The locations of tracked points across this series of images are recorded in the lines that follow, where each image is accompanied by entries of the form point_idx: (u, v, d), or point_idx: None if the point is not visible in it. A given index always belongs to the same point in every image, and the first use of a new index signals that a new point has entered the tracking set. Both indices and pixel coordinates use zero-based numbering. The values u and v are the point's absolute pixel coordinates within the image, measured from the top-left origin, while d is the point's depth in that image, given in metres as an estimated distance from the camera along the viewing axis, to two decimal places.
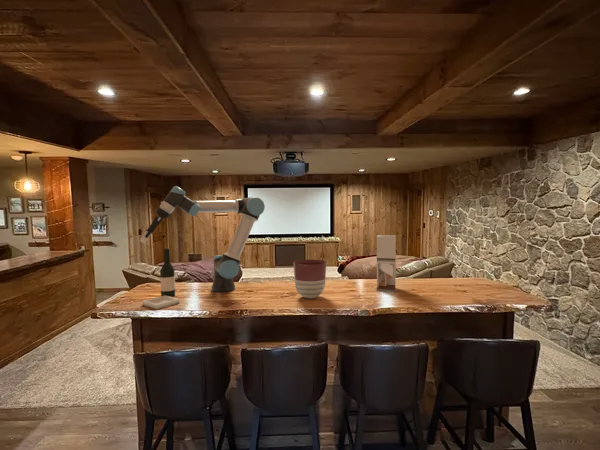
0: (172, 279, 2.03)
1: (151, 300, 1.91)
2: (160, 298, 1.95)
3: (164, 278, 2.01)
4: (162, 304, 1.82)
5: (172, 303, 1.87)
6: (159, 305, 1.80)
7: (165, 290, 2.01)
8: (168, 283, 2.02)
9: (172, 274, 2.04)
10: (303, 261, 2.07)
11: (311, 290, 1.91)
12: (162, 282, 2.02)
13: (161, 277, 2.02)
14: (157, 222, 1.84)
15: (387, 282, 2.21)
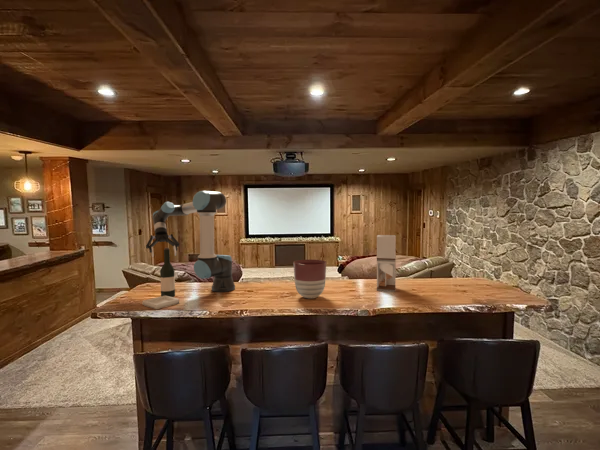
0: (172, 279, 2.03)
1: (151, 300, 1.91)
2: (160, 298, 1.95)
3: (164, 278, 2.01)
4: (162, 304, 1.82)
5: (172, 303, 1.87)
6: (159, 305, 1.80)
7: (165, 290, 2.01)
8: (168, 283, 2.02)
9: (172, 274, 2.04)
10: (303, 261, 2.07)
11: (311, 290, 1.91)
12: (162, 282, 2.02)
13: (161, 277, 2.02)
14: None
15: (387, 282, 2.21)
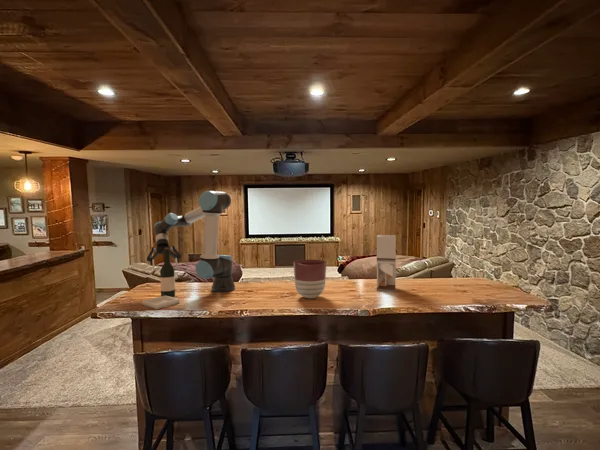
0: (172, 279, 2.03)
1: (151, 300, 1.91)
2: (160, 298, 1.95)
3: (164, 278, 2.01)
4: (162, 304, 1.82)
5: (172, 303, 1.87)
6: (159, 305, 1.80)
7: (165, 290, 2.01)
8: (168, 283, 2.02)
9: (172, 274, 2.04)
10: (303, 261, 2.07)
11: (311, 290, 1.91)
12: (162, 282, 2.02)
13: (161, 277, 2.02)
14: None
15: (387, 282, 2.21)
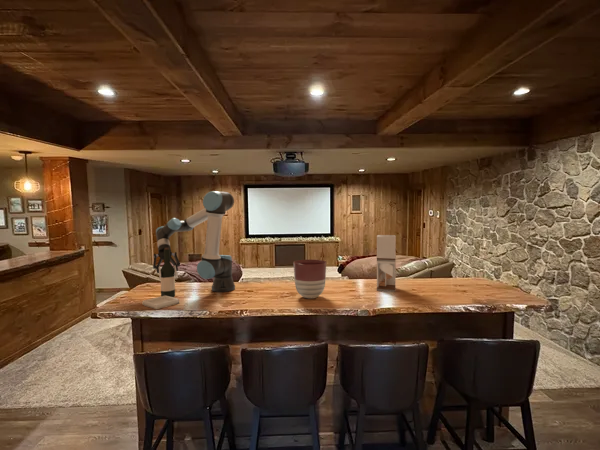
0: (172, 279, 2.03)
1: (151, 300, 1.91)
2: (160, 298, 1.95)
3: (164, 278, 2.01)
4: (162, 304, 1.82)
5: (172, 303, 1.87)
6: (159, 305, 1.80)
7: (165, 290, 2.01)
8: (168, 283, 2.02)
9: (172, 274, 2.04)
10: (303, 261, 2.07)
11: (311, 290, 1.91)
12: (162, 282, 2.02)
13: (161, 277, 2.02)
14: (154, 258, 2.07)
15: (387, 282, 2.21)
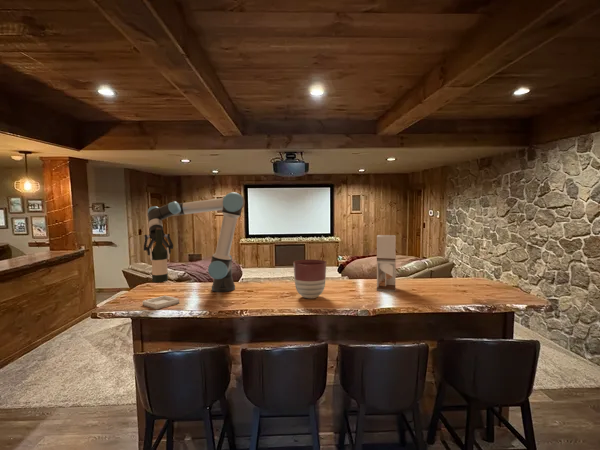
0: (164, 262, 1.86)
1: (151, 300, 1.91)
2: (160, 298, 1.95)
3: (155, 261, 1.84)
4: (162, 304, 1.82)
5: (172, 303, 1.87)
6: (159, 305, 1.80)
7: (156, 273, 1.84)
8: (160, 266, 1.84)
9: (165, 256, 1.86)
10: (303, 261, 2.07)
11: (311, 290, 1.91)
12: (153, 265, 1.84)
13: (152, 260, 1.85)
14: None
15: (387, 282, 2.21)
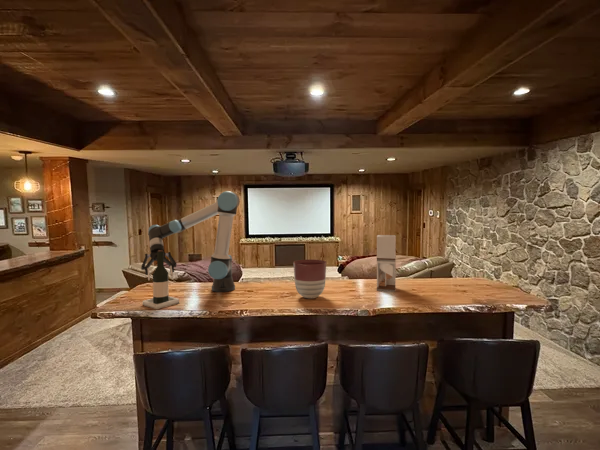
0: (165, 284, 1.87)
1: (151, 300, 1.91)
2: None
3: (156, 283, 1.84)
4: (162, 304, 1.82)
5: (172, 303, 1.87)
6: (159, 305, 1.80)
7: (157, 296, 1.85)
8: (161, 288, 1.85)
9: (166, 278, 1.87)
10: (303, 261, 2.07)
11: (311, 290, 1.91)
12: (154, 287, 1.85)
13: (153, 282, 1.85)
14: (144, 259, 1.90)
15: (387, 282, 2.21)
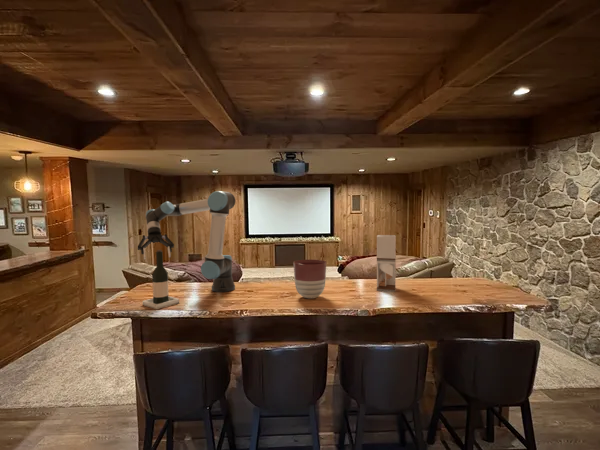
0: (165, 284, 1.87)
1: (151, 300, 1.91)
2: None
3: (156, 283, 1.84)
4: (162, 304, 1.82)
5: (172, 303, 1.87)
6: (159, 305, 1.80)
7: (157, 296, 1.85)
8: (161, 288, 1.85)
9: (166, 278, 1.87)
10: (303, 261, 2.07)
11: (311, 290, 1.91)
12: (154, 287, 1.85)
13: (153, 282, 1.85)
14: None
15: (387, 282, 2.21)
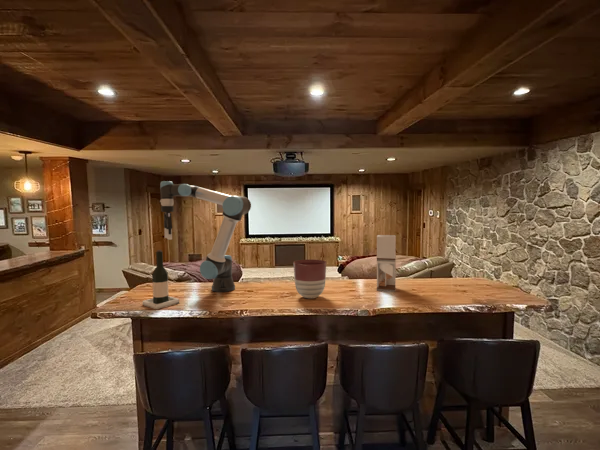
0: (165, 284, 1.87)
1: (151, 300, 1.91)
2: None
3: (156, 283, 1.84)
4: (162, 304, 1.82)
5: (172, 303, 1.87)
6: (159, 305, 1.80)
7: (157, 296, 1.85)
8: (161, 288, 1.85)
9: (166, 278, 1.87)
10: (303, 261, 2.07)
11: (311, 290, 1.91)
12: (154, 287, 1.85)
13: (153, 282, 1.85)
14: (169, 218, 2.08)
15: (387, 282, 2.21)
